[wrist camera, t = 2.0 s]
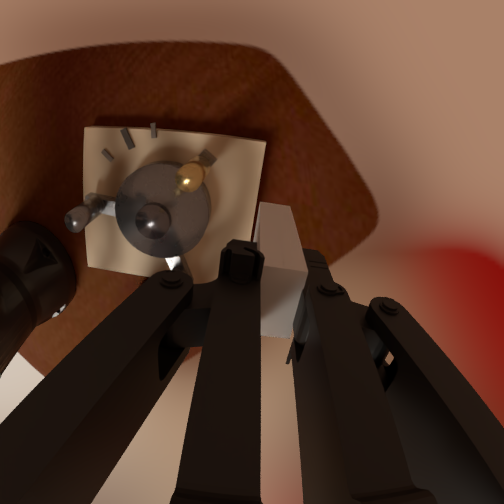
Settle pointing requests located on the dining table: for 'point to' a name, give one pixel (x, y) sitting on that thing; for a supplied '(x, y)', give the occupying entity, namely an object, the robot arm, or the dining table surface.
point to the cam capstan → (156, 208)
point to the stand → (182, 150)
